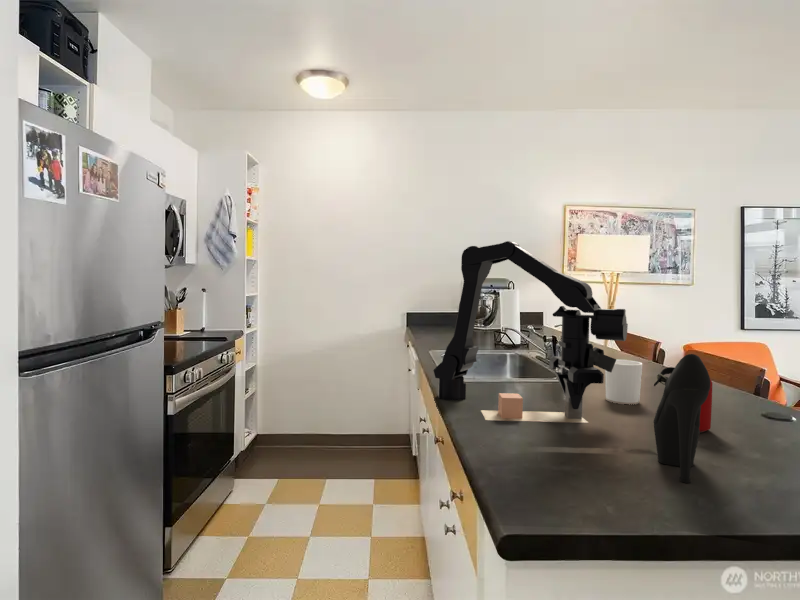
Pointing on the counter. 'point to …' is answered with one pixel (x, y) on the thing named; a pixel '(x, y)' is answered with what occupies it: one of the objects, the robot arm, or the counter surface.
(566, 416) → the strip
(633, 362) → the mug
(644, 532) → the counter surface
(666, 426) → the high-heeled shoe
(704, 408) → the beverage can
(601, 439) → the counter surface
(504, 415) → the block
